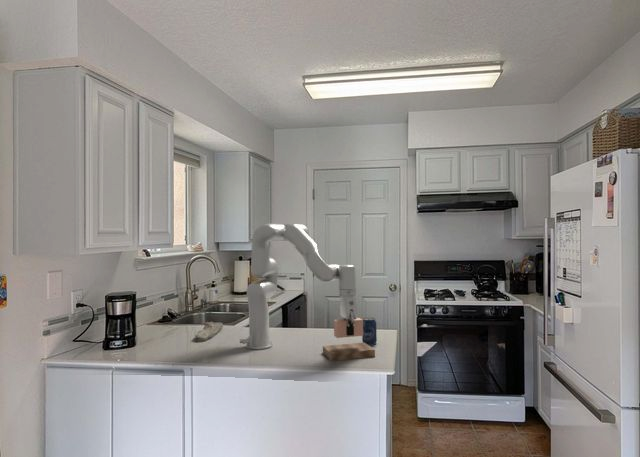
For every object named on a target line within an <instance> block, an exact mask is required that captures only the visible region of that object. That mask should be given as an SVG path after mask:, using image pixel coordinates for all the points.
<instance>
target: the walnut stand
mask: <svg viewBox="0 0 640 457" xmlns="http://www.w3.org/2000/svg"><path fill="white" fill-rule="evenodd" d="M322 354H323V355H324V356H325V357H326V358H328V359H329V361H330V362H334V361H335V362H336V361H343V360H355V359H364V358H374V357H376V350H375V349H374V348H373V347H371V345H367V344H366V343H363V342H356V343H355V342H353V343H343V344H331V345H323V346H322Z"/></svg>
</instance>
